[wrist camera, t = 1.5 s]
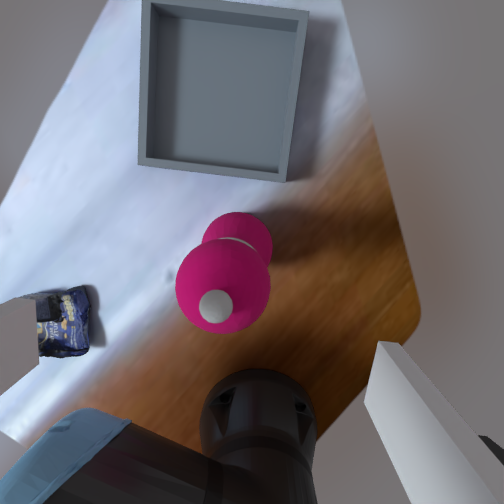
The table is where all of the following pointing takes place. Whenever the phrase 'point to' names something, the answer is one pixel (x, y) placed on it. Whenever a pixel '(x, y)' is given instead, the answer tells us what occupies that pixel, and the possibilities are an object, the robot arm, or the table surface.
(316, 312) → the table surface
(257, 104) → the tray
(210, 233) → the pepper mill
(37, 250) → the table surface
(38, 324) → the snack package
